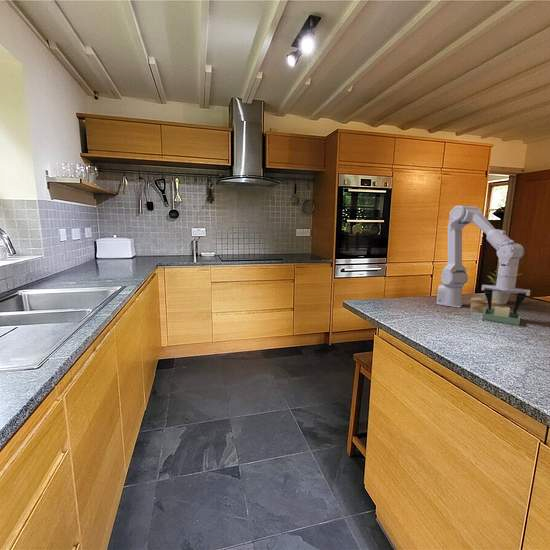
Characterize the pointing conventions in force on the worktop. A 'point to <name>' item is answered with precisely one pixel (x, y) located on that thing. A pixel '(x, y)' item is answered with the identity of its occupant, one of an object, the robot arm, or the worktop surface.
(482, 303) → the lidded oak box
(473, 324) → the worktop surface
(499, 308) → the sandstone cube
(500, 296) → the house plant
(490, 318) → the tray
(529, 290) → the robot arm
